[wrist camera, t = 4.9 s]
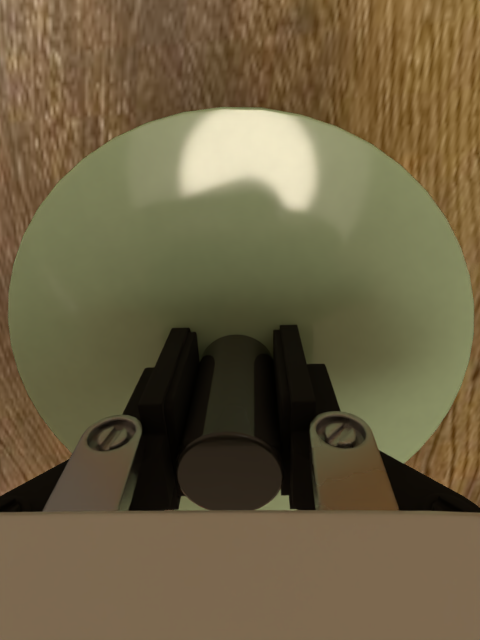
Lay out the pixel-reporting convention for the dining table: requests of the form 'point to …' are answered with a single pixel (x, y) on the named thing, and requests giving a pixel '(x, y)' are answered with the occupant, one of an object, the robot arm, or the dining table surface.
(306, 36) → the dining table surface
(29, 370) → the lid
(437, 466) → the dining table surface
